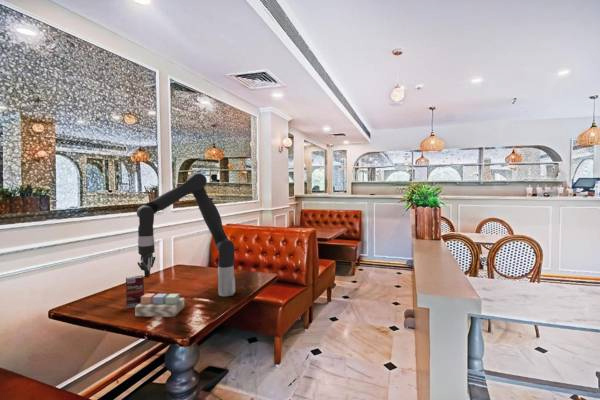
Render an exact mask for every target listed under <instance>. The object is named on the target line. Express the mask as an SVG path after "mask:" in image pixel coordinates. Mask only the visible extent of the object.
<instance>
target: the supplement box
mask: <svg viewBox="0 0 600 400" xmlns="http://www.w3.org/2000/svg"><path fill="white" fill-rule="evenodd" d="M144 282H145V281H144V275H143V274H142V275H134V276H128V277H127V276H126V277H125V295H126V299H125V300H126V301H125V302H126V303H125V305H126V309H131V308H135V306H136V305H138V304H139V303H141V297H142V296H143V295H145V288H144V287H145V286H144V285H145V283H144Z"/></svg>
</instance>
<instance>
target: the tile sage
mask: <svg viewBox="0 0 600 400" xmlns="http://www.w3.org/2000/svg"><path fill="white" fill-rule="evenodd" d="M179 298H180V293H169V294H167V296H166V297H165V304H171V305H176V304H177V303H178V302H179Z"/></svg>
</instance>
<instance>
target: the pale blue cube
mask: <svg viewBox="0 0 600 400" xmlns="http://www.w3.org/2000/svg"><path fill="white" fill-rule="evenodd" d="M166 296H168V293H157V294H155V296H154V297H153V304H164V303H165V297H166Z"/></svg>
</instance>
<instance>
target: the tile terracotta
mask: <svg viewBox="0 0 600 400" xmlns="http://www.w3.org/2000/svg"><path fill="white" fill-rule="evenodd" d="M155 295H156V293H144V295H143V296H142V297H141V304H152V303H153V297H154V296H155Z"/></svg>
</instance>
